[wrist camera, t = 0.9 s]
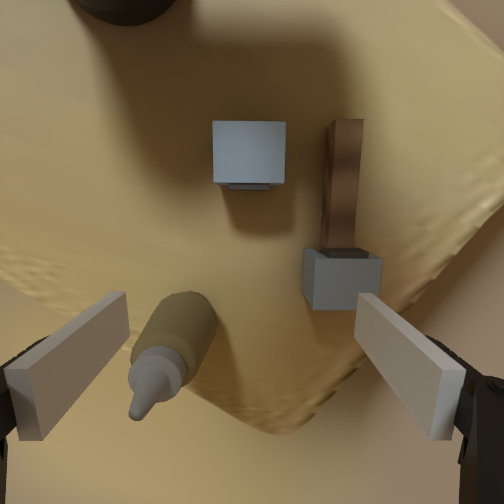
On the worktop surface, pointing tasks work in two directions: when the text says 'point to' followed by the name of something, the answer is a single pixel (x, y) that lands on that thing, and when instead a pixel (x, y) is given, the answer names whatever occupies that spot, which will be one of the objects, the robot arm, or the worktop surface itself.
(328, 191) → the rail
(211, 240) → the worktop surface
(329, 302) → the slider block
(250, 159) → the grey cube block
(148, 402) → the squeeze bottle
